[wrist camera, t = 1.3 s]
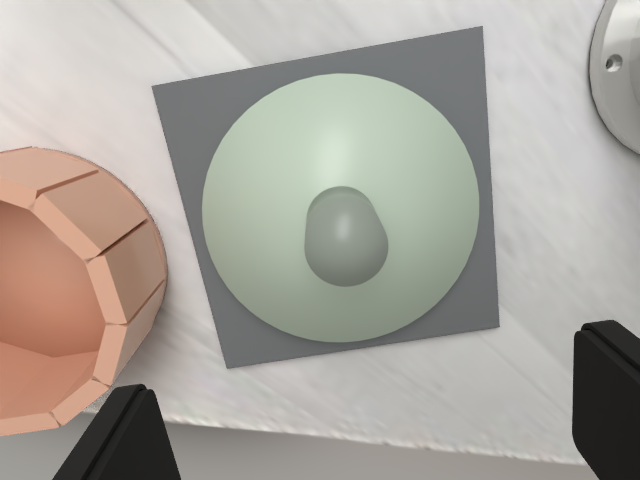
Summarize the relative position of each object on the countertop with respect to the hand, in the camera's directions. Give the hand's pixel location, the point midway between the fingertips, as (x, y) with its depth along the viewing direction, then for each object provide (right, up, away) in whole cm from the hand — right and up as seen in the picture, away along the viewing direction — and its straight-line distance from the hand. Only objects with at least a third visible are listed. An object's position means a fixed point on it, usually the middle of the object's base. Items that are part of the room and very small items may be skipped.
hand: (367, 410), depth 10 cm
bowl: (-18, +2, +18) cm, 26 cm away
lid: (0, +5, +17) cm, 18 cm away
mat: (0, +5, +18) cm, 19 cm away
